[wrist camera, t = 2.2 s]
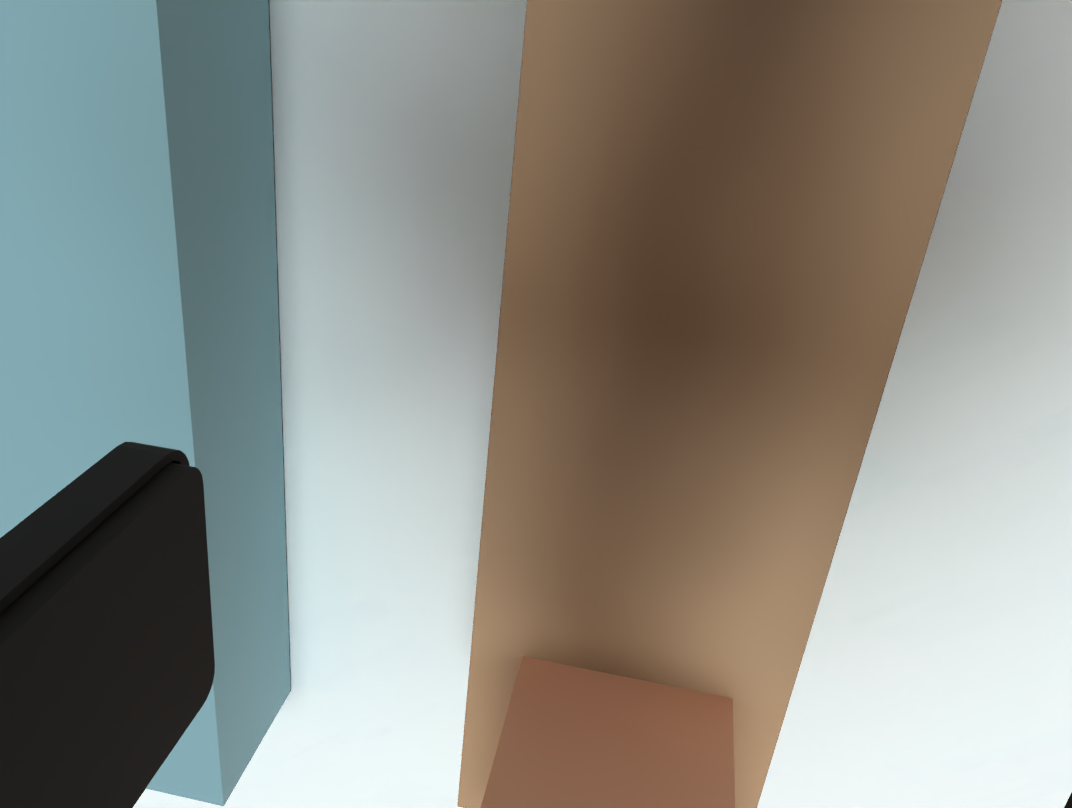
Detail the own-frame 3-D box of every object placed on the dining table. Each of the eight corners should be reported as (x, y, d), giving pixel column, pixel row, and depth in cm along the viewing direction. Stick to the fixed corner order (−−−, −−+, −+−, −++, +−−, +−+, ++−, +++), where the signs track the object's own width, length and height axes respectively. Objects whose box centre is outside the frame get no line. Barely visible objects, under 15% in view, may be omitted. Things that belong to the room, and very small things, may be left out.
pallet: (1029, -418, 13) (1186, -606, 9) (733, 696, 23) (738, 868, 19) (623, -443, 14) (581, -629, 10) (505, 649, 24) (457, 806, 19)
